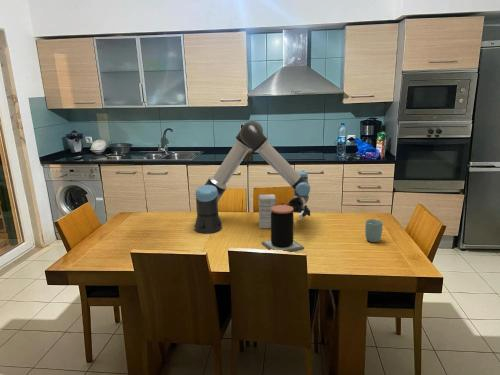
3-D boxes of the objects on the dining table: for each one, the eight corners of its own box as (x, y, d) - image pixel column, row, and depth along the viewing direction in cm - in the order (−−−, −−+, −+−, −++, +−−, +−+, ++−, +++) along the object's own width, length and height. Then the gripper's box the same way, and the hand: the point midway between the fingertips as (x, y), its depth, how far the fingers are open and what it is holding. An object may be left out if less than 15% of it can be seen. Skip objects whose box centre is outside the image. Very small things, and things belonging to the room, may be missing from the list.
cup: (373, 245, 177) (374, 225, 175) (361, 239, 184) (362, 220, 182) (384, 241, 181) (386, 222, 178) (372, 236, 188) (374, 218, 185)
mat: (261, 243, 182) (261, 241, 182) (287, 238, 188) (287, 235, 188) (276, 255, 169) (276, 252, 168) (303, 249, 175) (303, 246, 174)
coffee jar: (296, 241, 181) (296, 206, 176) (288, 249, 171) (289, 212, 167) (275, 238, 185) (275, 203, 180) (267, 246, 176) (267, 210, 171)
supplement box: (276, 228, 202) (275, 198, 198) (259, 228, 202) (258, 199, 198) (275, 222, 211) (275, 194, 207) (259, 222, 211) (258, 194, 207)
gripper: (319, 212, 198) (311, 225, 179) (274, 208, 207) (262, 220, 187) (319, 199, 196) (311, 211, 177) (274, 195, 205) (262, 206, 185)
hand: (286, 216), depth 182 cm, fingers open, 13 cm apart
